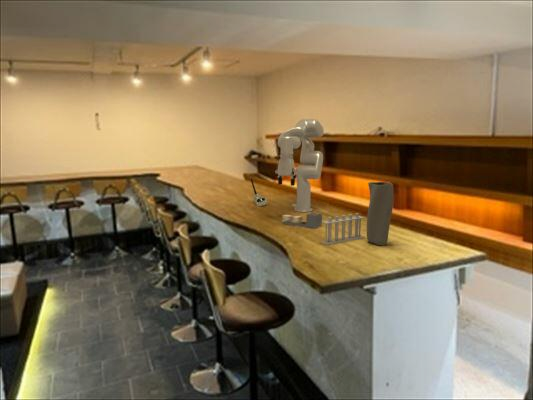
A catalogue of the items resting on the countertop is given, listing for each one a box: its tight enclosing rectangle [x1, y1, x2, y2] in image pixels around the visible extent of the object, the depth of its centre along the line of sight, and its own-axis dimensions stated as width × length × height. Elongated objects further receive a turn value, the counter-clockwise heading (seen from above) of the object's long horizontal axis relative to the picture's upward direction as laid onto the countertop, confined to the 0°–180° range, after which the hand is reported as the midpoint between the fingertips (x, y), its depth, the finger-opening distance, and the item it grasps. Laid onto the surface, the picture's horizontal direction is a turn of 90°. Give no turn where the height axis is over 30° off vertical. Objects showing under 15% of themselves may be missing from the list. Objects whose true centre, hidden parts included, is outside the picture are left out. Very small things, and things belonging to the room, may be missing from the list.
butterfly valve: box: [249, 177, 269, 207], centre depth 308 cm, size 9×20×17 cm
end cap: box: [305, 212, 323, 230], centre depth 238 cm, size 6×8×8 cm
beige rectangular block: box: [281, 214, 303, 224], centre depth 246 cm, size 12×4×5 cm, turn 57°
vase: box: [366, 181, 395, 246], centre depth 201 cm, size 12×12×30 cm
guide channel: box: [281, 221, 306, 228], centre depth 245 cm, size 16×6×2 cm, turn 58°
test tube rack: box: [320, 212, 366, 246], centre depth 208 cm, size 25×4×13 cm, turn 120°
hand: (286, 184), depth 252 cm, fingers open, 9 cm apart
